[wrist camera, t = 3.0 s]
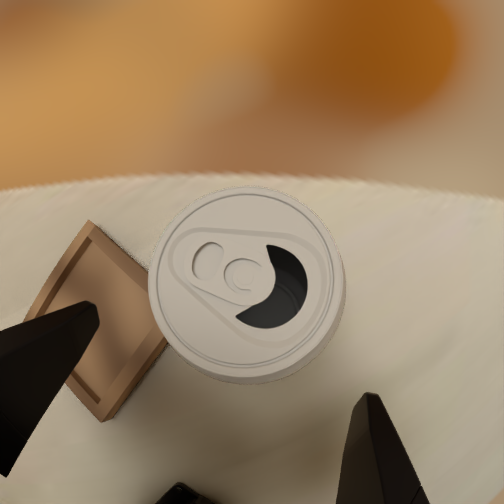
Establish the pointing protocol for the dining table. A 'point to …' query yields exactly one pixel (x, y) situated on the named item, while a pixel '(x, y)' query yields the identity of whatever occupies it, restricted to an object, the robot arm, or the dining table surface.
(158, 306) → the beverage can
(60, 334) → the robot arm
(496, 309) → the dining table surface
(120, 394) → the tray
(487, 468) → the dining table surface
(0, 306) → the dining table surface
